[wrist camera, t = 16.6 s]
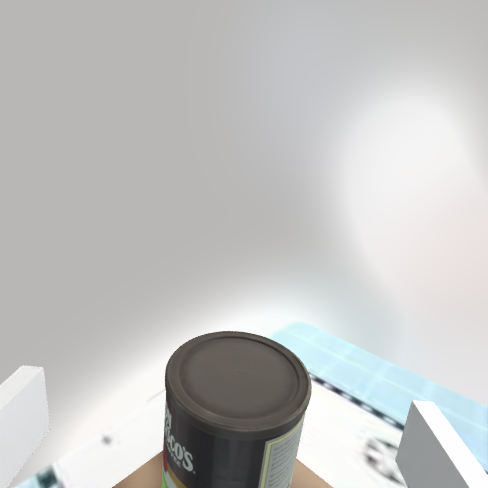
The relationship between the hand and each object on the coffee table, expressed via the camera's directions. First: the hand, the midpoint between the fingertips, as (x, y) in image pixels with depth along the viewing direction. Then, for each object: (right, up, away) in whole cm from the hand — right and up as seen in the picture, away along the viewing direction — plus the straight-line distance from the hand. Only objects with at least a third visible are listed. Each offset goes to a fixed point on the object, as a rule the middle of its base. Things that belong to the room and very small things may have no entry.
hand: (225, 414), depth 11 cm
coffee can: (-1, -16, +15) cm, 22 cm away
